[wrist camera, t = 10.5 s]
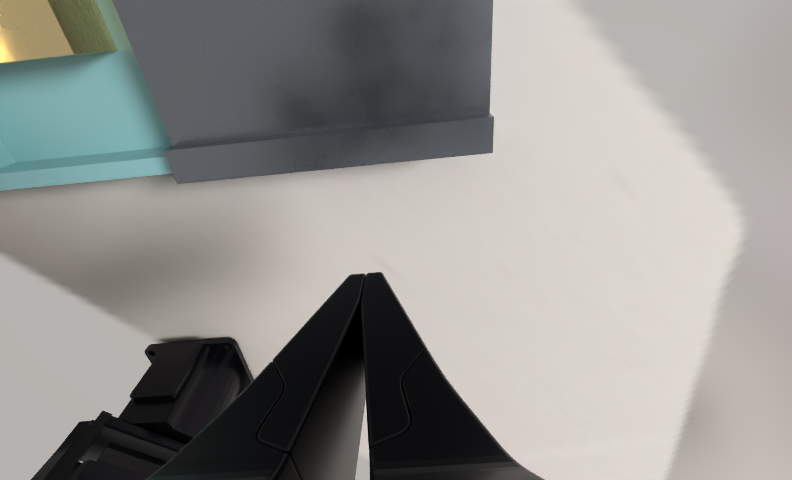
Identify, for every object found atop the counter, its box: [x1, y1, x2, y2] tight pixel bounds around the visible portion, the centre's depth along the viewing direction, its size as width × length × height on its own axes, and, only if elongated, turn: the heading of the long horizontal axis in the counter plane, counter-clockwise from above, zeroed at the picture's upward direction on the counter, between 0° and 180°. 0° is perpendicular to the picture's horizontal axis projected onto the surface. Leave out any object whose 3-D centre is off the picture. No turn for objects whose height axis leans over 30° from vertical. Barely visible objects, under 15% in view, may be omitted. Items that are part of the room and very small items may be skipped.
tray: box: [0, 0, 173, 191], centre depth 14 cm, size 14×10×2 cm
